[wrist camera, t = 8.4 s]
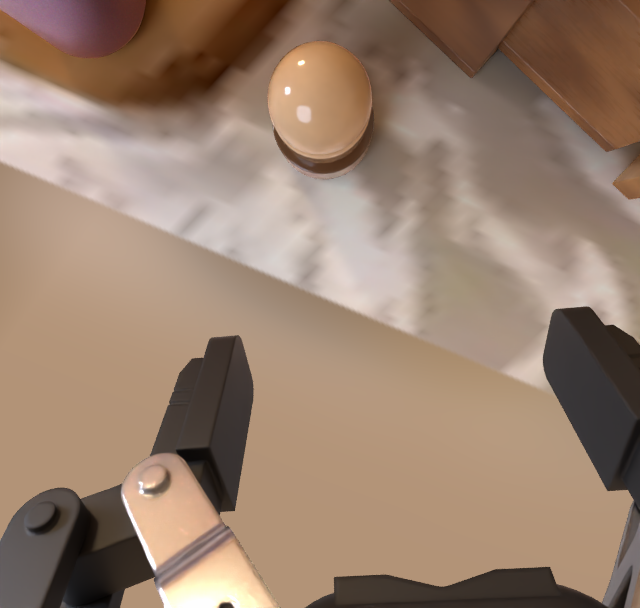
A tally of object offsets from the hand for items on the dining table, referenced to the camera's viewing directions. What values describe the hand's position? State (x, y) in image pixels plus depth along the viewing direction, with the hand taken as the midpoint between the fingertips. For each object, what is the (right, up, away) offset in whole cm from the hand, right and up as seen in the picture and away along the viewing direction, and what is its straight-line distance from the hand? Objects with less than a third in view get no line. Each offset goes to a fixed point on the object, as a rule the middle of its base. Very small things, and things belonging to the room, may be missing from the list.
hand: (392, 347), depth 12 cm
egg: (-2, +10, +12) cm, 16 cm away
